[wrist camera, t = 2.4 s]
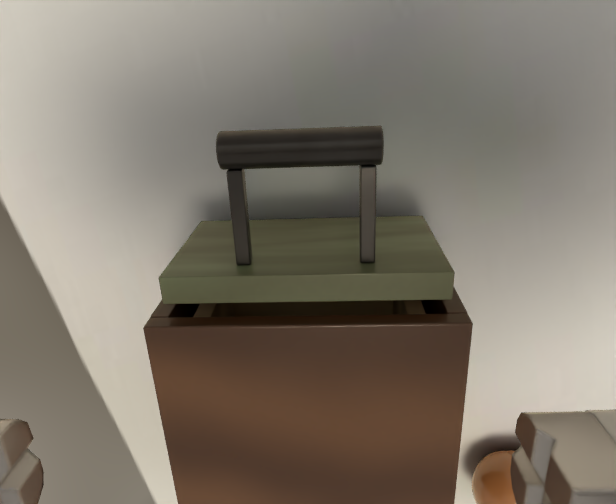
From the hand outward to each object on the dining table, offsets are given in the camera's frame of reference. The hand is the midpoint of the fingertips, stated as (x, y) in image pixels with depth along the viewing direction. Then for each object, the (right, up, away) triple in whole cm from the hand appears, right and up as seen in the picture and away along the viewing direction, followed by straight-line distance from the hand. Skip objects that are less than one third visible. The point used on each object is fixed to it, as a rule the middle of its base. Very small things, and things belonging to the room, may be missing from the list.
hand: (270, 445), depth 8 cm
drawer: (+1, +1, +18) cm, 18 cm away
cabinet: (+1, -3, +21) cm, 21 cm away
